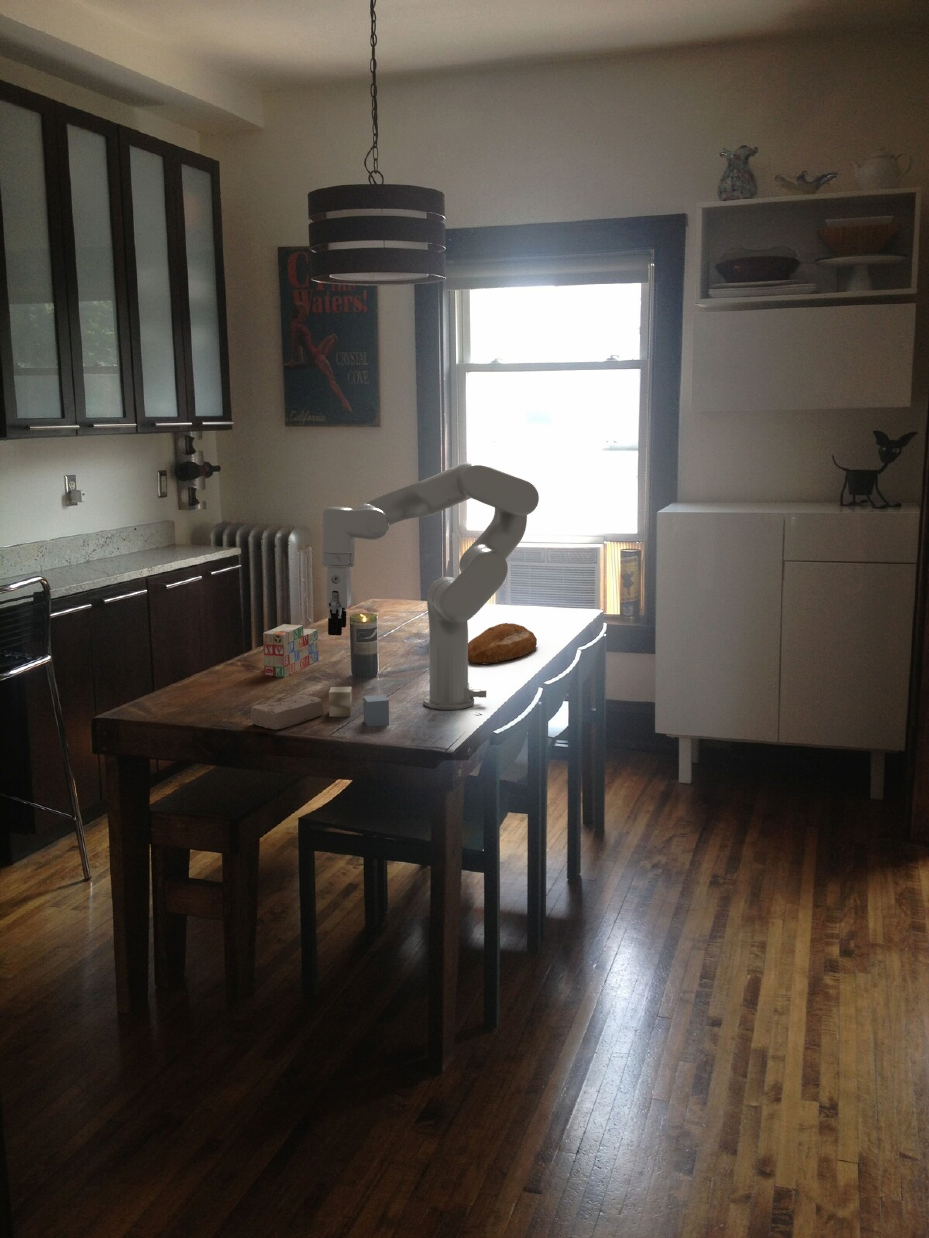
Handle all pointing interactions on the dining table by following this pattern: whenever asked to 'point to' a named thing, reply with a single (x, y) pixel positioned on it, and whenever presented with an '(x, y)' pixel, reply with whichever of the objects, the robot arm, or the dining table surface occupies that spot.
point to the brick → (287, 712)
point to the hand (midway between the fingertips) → (337, 631)
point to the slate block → (376, 710)
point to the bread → (501, 644)
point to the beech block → (340, 701)
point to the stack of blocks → (289, 649)
